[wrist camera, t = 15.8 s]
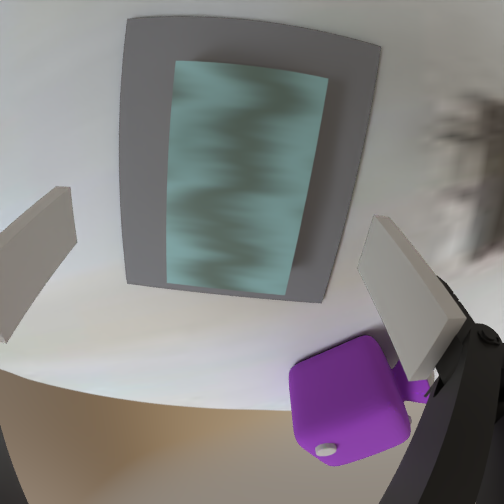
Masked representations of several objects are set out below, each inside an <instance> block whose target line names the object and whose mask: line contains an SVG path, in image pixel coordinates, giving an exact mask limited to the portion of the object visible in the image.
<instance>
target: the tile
mask: <svg viewBox="0 0 504 504" xmlns="http://www.w3.org/2000/svg"><path fill="white" fill-rule="evenodd" d="M327 84H328V78H323V77H318V76H313V75H308V74H302V73H297V72H291V71H285V70H278V69H271V68H264V67H256V66H248V65H238V64H228V63H215V62H198V61H176V63H175V73H174V83H173V93H172V105H171V118H170V133H169V151H168V173H167V210H166V262H167V283H173V284H181V285H190V286H198V287H207V288H216V289H226V290H235V291H245V292H255V293H266V294H277V295H285V293H286V288H287V284H288V280H289V275H290V271H291V267H292V262H293V258H294V253H295V249H296V244H297V240H298V235H299V230H300V226H301V221H302V216H303V212H304V207H305V202H306V197H307V192H308V187H309V182H310V177H311V172H312V167H313V162H314V157H315V152H316V146H317V141H318V136H319V130H320V125H321V119H322V114H323V108H324V102H325V96H326V90H327Z"/></svg>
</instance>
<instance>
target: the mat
mask: <svg viewBox="0 0 504 504" xmlns="http://www.w3.org/2000/svg"><path fill="white" fill-rule="evenodd" d="M380 51H381V46H377V45H374V44H370V43H367V42H363V41H360V40H356V39H352V38H349V37H345V36H340V35H336V34H332V33H327V32H323V31H318V30H313V29H308V28H303V27H297V26H291V25H285V24H278V23H271V22H263V21H254V20H245V19H233V18H218V17H147V18H132V19H127V26H126V34H125V43H124V53H123V64H122V77H121V93H120V116H119V183H120V207H121V224H122V238H123V250H124V260H125V270H126V279H127V284H134V285H142V286H149V287H157V288H166V289H174V290H183V291H191V292H200V293H210V294H219V295H229V296H239V297H250V298H261V299H272V300H284V301H297V302H310V303H322V300H323V297H324V294H325V291H326V287H327V284H328V281H329V277H330V274H331V271H332V267H333V264H334V260H335V257H336V253H337V250H338V246H339V243H340V239H341V235H342V232H343V228H344V224H345V220H346V216H347V213H348V209H349V205H350V201H351V197H352V193H353V189H354V184H355V180H356V176H357V172H358V167H359V163H360V159H361V154H362V149H363V145H364V140H365V135H366V130H367V125H368V120H369V115H370V110H371V105H372V99H373V94H374V88H375V82H376V77H377V70H378V64H379V58H380ZM176 61H198V62H215V63H228V64H238V65H248V66H256V67H264V68H271V69H278V70H285V71H291V72H297V73H302V74H308V75H313V76H318V77H323V78H328V84H327V90H326V96H325V102H324V108H323V114H322V119H321V125H320V130H319V136H318V141H317V146H316V152H315V157H314V162H313V167H312V172H311V177H310V182H309V187H308V192H307V197H306V202H305V207H304V212H303V216H302V221H301V226H300V230H299V235H298V240H297V244H296V249H295V253H294V258H293V262H292V267H291V271H290V275H289V280H288V284H287V288H286V293H285V295H277V294H266V293H255V292H245V291H235V290H226V289H216V288H207V287H198V286H190V285H181V284H173V283H167V262H166V210H167V173H168V151H169V133H170V118H171V105H172V93H173V83H174V73H175V63H176Z"/></svg>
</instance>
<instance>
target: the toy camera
mask: <svg viewBox="0 0 504 504" xmlns="http://www.w3.org/2000/svg"><path fill="white" fill-rule="evenodd" d="M433 383H434V371H432V373H431V374H430V375H429V377H428V378H427V379H426V380H418V381H408V379H407V376H406V374H405V371H404V369H403V366H402V364H401V362H400V359H399V361H398V362H397V364H396V365H395V367H394V368H393V369H391V368H390V366H389V364H388V362H387V359H386V357H385V355H384V353H383V351H382V349H381V347H380V346H379V344H378V343H377V341H376V340H375V339H374V338H373V337H371V336H369V335H364V336H360V337H358V338H355V339H353V340H350V341H348V342H346V343H344V344H341V345H339V346H337V347H335V348H332V349H330V350H328V351H325V352H323V353H321V354H318V355H316V356H314V357H311V358H309V359H307V360H304V361H302V362H300V363H298V364H296V365H295V366H293V367H292V368H291V370H290V372H289V390H290V399H291V410H292V420H293V428H294V435H295V438H296V440H297V442H298V444H299V445H300V446H301V447H302V448H304V449H305V450H306V451H308V452H309V453H310V454H312V455H313V456H315V457H316V458H318V459H319V460H320V461H322V462H324V463H325V464H327V465H329V466H340V465H344V464H348V463H351V462H354V461H357V460H360V459H363V458H366V457H369V456H372V455H374V454H377V453H380V452H382V451H385V450H387V449H390V448H392V447H395V446H397V445H399V444H401V443H403V442H404V441H405V440H407V439H408V438H409V436H410V432H411V429H410V424H411V423H412V420H411V417H410V416H408V414H407V411H406V408H405V405H404V401H413V402H418V403H425V404H427V401H428V398H429V395H430V394H429V395H428V396H427V397H424V395H425V394H426V392H427V391H428V390H429V388H430V387H431V386H432V384H433Z"/></svg>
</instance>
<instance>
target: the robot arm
mask: <svg viewBox="0 0 504 504" xmlns="http://www.w3.org/2000/svg"><path fill="white" fill-rule="evenodd" d="M76 243H77V237H76V230H75V223H74V216H73V207H72V198H71V189H70V187H59V186H56V187H55V188H54V189H52V190H51V191H50V192H48V193H47V194H46V195H45V196H43V197H42V198H41V199H40V200H38V201H37V202H36V203H35V204H34V205H32V206H31V207H30V208H29V209H27V210H26V211H25V212H24V213H23V214H22V215H20V216H19V217H18V218H17V219H16V220H15V221H14V222H12V223H11V224H10V225H9V226H8V227H7V228H6V229H5V230H3V231H2V232H1V233H0V342H2V343H6V344H7V342H8V340H9V339H10V337H11V335H12V334H13V332H14V331H15V329H16V327H17V326H18V324H19V323H20V321H21V320H22V318H23V317H24V315H25V313H26V312H27V310H28V309H29V307H30V306H31V304H32V303H33V302H34V300H35V299H36V297H37V296H38V294H39V293H40V291H41V290H42V289H43V287H44V286H45V284H46V283H47V282H48V280H49V279H50V277H51V276H52V275H53V273H54V272H55V271H56V269H57V268H58V267H59V265H60V264H61V263H62V261H63V260H64V259H65V257H66V256H67V255H68V254H69V252H70V251H71V250H72V248H73V247H74V246H75V245H76ZM357 269H358V271H359V273H360V275H361V277H362V279H363V281H364V283H365V285H366V287H367V289H368V291H369V293H370V295H371V297H372V300H373V302H374V304H375V306H376V308H377V310H378V312H379V314H380V317H381V319H382V321H383V323H384V325H385V327H386V330H387V332H388V334H389V336H390V339H391V341H392V343H393V345H394V348H395V350H396V352H397V355H398V357H399V359H400V362H401V364H402V366H403V369H404V371H405V374H406V376H407V379H408V381H418V380H426V379H427V378H428V377H429V375H430V374H431V373H432V371H433V370H434V368H435V367H436V369H437V371H438V374H439V376H438V378H437V379H436V380H435V382H434V383H433V384H432V386H431V387H430V388H429V390H428V391H427V392H426V394H425V395H424V397H427V396H428V395H429V394H430V395H429V398H428V401H427V404H426V406H425V409H424V411H423V414H422V416H421V419H420V421H419V424H418V426H417V428H416V431H415V433H414V436H413V438H412V440H411V442H410V444H409V447H408V449H407V451H406V453H405V455H404V457H403V459H402V461H401V463H400V465H399V468H398V469H397V471H396V474H395V475H394V477H393V479H392V481H391V483H390V485H389V486H388V488H387V490H386V492H385V494H384V495H383V497H382V499H381V501H380V502H379V504H475V502H476V504H504V343H502V341H501V339H500V337H499V335H498V334H497V333H496V332H495V331H494V330H493V329H492V328H490V327H489V326H487V325H484V324H478V323H477V324H475V322H474V321H473V319H472V318H471V316H470V315H469V314H468V312H467V311H466V309H465V308H464V306H463V305H462V304H461V302H459V301H458V300H459V299H458V298H457V297H456V295H455V294H453V291H452V290H451V289H450V287H449V286H448V285H447V283H445V282H444V281H443V280H442V279H441V278H439V277H438V276H436V275H435V273H434V272H433V271H432V269H431V268H430V267H429V265H428V264H427V263H426V262H425V260H424V259H423V258H422V256H421V255H420V254H419V253H418V251H417V250H416V249H415V248H414V246H413V245H412V244H411V243H410V242H409V240H408V239H407V238H406V237H405V235H404V234H403V233H402V232H401V231H400V229H399V228H398V227H397V226H396V225H395V224H394V222H393V221H392V220H391V219H390V218H389V217H385V216H379V215H374V216H373V219H372V223H371V226H370V229H369V233H368V236H367V239H366V242H365V245H364V248H363V252H362V255H361V258H360V261H359V264H358V267H357ZM0 504H28V502H27V499H26V497H25V495H24V492H23V490H22V488H21V485H20V483H19V481H18V478H17V475H16V472H15V470H14V467H13V464H12V461H11V459H10V456H9V453H8V450H7V447H6V443H5V440H4V437H3V433H2V430H1V426H0Z"/></svg>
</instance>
